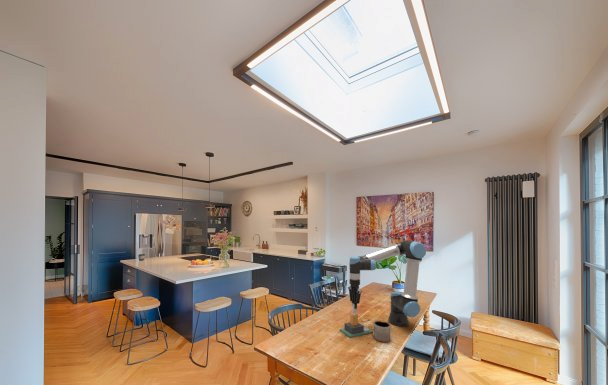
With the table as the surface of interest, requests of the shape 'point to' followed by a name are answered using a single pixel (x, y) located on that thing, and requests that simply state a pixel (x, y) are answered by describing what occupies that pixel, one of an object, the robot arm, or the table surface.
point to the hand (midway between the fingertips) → (354, 312)
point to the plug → (353, 320)
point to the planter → (382, 331)
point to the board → (355, 330)
